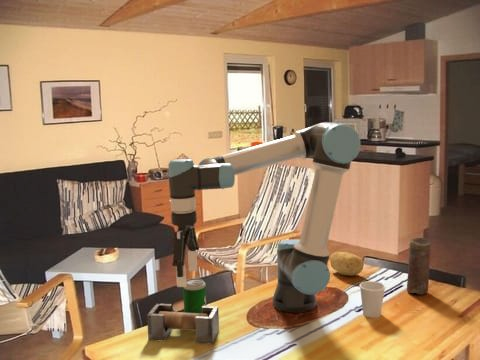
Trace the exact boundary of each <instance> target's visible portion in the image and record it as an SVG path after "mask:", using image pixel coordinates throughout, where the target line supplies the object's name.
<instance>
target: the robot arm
mask: <svg viewBox="0 0 480 360" xmlns="http://www.w3.org/2000/svg"><path fill="white" fill-rule="evenodd" d="M360 151H361V138H360V136H359V134H358V132H357V130H356V129H354V127H352V126H351V125H347V124H344V123H342V122H330V121H324V122H320V123H316V124H314V125H311V126H309V127H305V128H303V129H299V130H296V131H294V133H293V135H290V136H286V137H283V138H280V139H276V140H275V139H274V140H272V141H269V142H265V143H261V144H258V145H255V146H250V147H248V148H244V149H241V150H236V151H233V152H230V153H226V154H222V155H219V156H216V157H207V158H203V159H202V160H201V161H200V162H198V164H195V163H194V160H193V159H191V158H177V159H172V160H170V161H169V162H168V166H167V167H168V186H169V187H168V188H169V195H170V196H169V200H168V203H169V204H170V210H171V211H172V212H171V213H170V216H171V224H172V225H173V226H176V227H177V231H174V234H173V235H174V242H173V259H172V264H171V265H172V267H175V277H176V287H177V288H183V287H186V286H187V285H186V280H187V272H186V271H187V270H186V264H185V259H186V252H187V263H188V271H189V272H198V254H197V251H200V246H199V242H198V238H197V234H196V233H197V232H196V228H195V224H196V223H197V218H198V217H197V211H196V209H197V202H196V199H197V198H196V191H203V190H204V191H205V190H207V191H208V190H218V189H219V190H220V189H222V190H224V189H229V188H233V187H234V185H235V179H236V176H238V175H242V174H244V173H248V172H252V171H256V170H259V169H262V168H266V167H269V166H272V165H276V164H279V163H283V162H287V161H290V160H293V159H297V158H300V159H302V160H305V159H309V158H312V164H313V165H314V167H315V171H314V176H313V180H312V184H311V189H310V194H309V198H308V203H307V207H306V211H305V217H304V221H303V225H302V230H301V234H300V239H299V238H298V239H297V238H294V239H293V238H292V239H285V240H280V241H279V242H278V243H277V247H276V248H277V249H276V252H277V258H276V259H277V284H276V288H275V291H274V293H273V297H272V305H273V304H274V305H273V307H274V306H275V307H277V308H278V309H277V308H276V309H277V310H279V309H280V310H279V311H281V310H282V311H281V312H287V313H292V314H293V313H295V314H297V313H299V314H300V313H306V312H309V311H312V310H314V309H315V308H316V307H317V296H316V294H319V293H320V292H322V291H323V290H324V289H326V287H328V284H329V283H330V279H331V272H330V268H329V267H328V264H329V261H330V256H331V255H330V251H329V250H328V248H327V245H328V242H329V237H330V233H331V228H332V224H333V219H334V216H335V215H334V214H335V211H336V207H337V202H338V197H339V194H340V188H341V184H342V180H343V175H344V174H346V173H347V172H349V171H350V168H351V163H352V161H353V160H355V159H356V158H357V157H358V155H359V153H360ZM187 249H188V250H187ZM315 306H316V307H315ZM275 307H274V308H275ZM314 307H315V308H314ZM313 308H314V309H313Z"/></svg>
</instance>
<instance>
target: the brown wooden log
mask: <svg viewBox="0 0 480 360" xmlns="http://www.w3.org/2000/svg"><path fill="white" fill-rule="evenodd" d="M158 314H164V320H165V328H168V329H172V330H173V329H175V330H185V331H189V330H190V331H196V323H195V317H196V316H204V317H208V314H202V313H184V311H182V312H180V311H179V312H178V311H172V312H165V311H160V312H159V313H158Z"/></svg>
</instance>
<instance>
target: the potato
mask: <svg viewBox="0 0 480 360" xmlns="http://www.w3.org/2000/svg"><path fill="white" fill-rule="evenodd" d="M329 262H330V267H331V268H332V270H334V271H336V273H338V274H339V275H341V276H351V277H353V276H356V275H358V274H361V272H362V271H363V270H364V265H365V264H364V261H363V259H362V258H361V257H360V256H358V255H356V254H354V253H351V252H347V251H336V252H333V253H332V254H331V255H330V256H329Z"/></svg>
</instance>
